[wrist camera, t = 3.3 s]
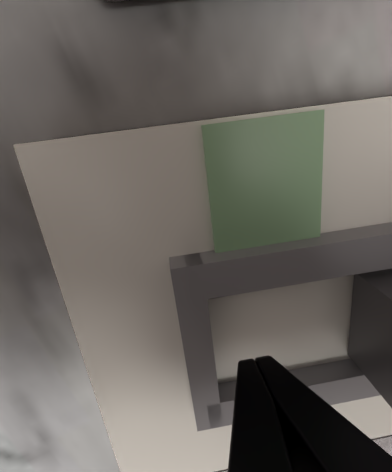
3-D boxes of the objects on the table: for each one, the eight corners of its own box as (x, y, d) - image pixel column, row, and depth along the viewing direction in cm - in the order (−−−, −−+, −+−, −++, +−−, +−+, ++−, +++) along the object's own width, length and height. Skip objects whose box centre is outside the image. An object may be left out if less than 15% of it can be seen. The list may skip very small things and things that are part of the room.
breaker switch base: (628, 65, 10) (828, 39, 7) (527, 348, 14) (624, 406, 11) (51, 139, 9) (-4, 146, 6) (131, 425, 13) (123, 513, 10)
